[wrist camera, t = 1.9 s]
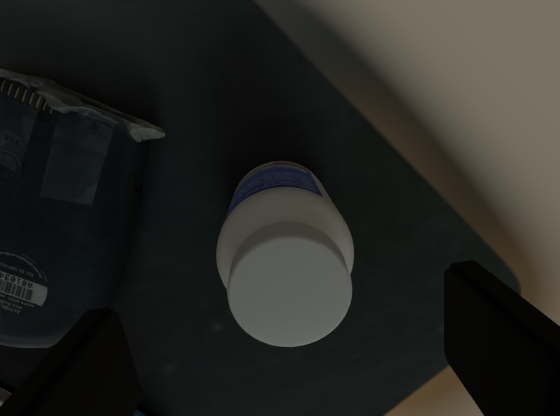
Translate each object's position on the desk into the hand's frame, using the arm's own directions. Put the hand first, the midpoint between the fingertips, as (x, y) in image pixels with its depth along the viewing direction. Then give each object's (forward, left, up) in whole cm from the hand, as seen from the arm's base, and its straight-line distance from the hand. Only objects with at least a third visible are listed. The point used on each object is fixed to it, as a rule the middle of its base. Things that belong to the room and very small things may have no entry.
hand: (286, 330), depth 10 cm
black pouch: (-1, -13, -11) cm, 17 cm away
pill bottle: (0, 0, -11) cm, 11 cm away
